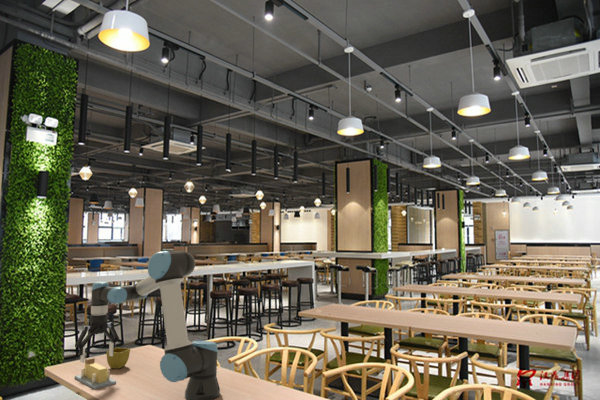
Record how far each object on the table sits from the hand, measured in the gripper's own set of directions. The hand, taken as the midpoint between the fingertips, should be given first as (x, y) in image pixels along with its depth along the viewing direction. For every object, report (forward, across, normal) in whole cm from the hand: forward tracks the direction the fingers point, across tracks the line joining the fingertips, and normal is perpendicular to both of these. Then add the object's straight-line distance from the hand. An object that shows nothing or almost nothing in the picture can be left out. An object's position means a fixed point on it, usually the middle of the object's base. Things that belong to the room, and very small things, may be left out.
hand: (97, 359), depth 199 cm
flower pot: (+10, -17, -14) cm, 24 cm away
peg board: (+10, 0, -1) cm, 10 cm away
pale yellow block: (+9, 0, -1) cm, 9 cm away
